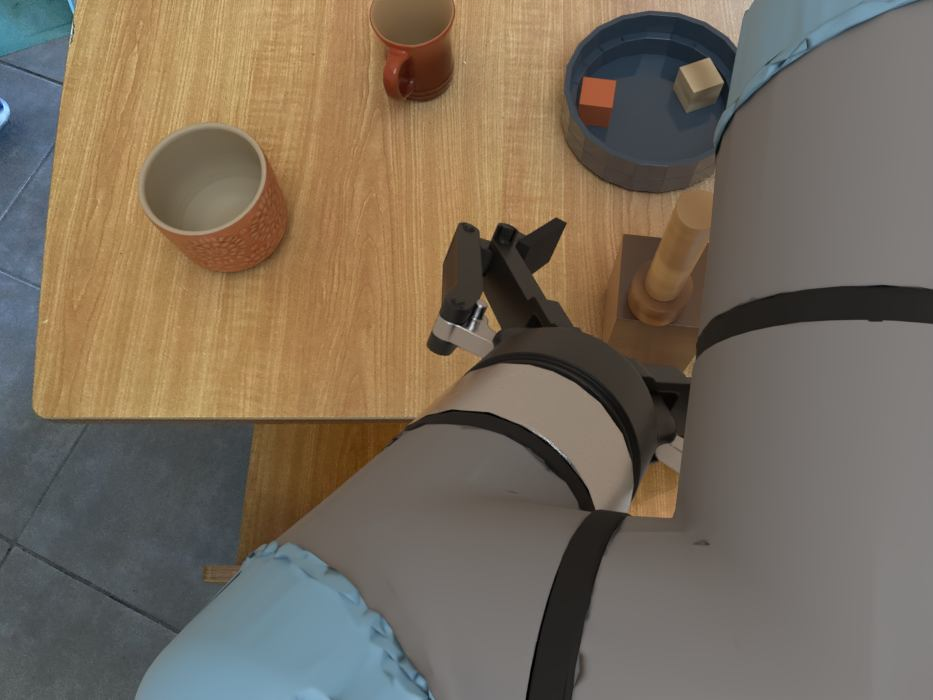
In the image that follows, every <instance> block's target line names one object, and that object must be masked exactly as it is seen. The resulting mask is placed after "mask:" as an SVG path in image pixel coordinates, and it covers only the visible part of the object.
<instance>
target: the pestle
mask: <svg viewBox="0 0 933 700" xmlns="http://www.w3.org/2000/svg"><path fill="white" fill-rule="evenodd" d="M713 194H714V193H712V192H710V191H707V190H703V189H691V190H688V191H686V192H684V193H683V194H681V195H680V196H679V198H678V199H677V200H676V203H675V205H674V208H673V210H672V212H671V215H670V217H669V220H668V222H667V225H666V227H665V229H664V232H663V233H662V237H661V238H662V239H661V241H660V244H659V246H658V249H657V251H656V253H655V256H654V258H653V259H652V260H649V261H647V262H645V263H643V264H642V265H641V266H640V267H639V268H638V269H637V271H636V272H635V274H634V277H633V280H632V282H631V285H630V288H629V290H628V295H627V301H628V305H629V308H630V310H631V312H632V313H633V314H634V316H636V317H637V318H638V319H639V320H640V321H642V322H644V323H646V324H649V325H654V326H662V325H667V324H670V323H672V322H674V321H675V320H676V319H678V318H679V317H680V315H681V314H682V312H683V311H684V309H685V307H686V306H687V304H688V302H689V300H690V299H691V296H692V293H693V281H692V278H691V276H690V274H691V273H692V271H693V269H694V267H695V265H696V263H697V262H698V260H699V258H700V256H701V254H702V252H703V250H704V249H705V247H706V245H707V243H708V242H709V237H710V228H711V217H712V206H713Z"/></svg>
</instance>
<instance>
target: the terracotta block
mask: <svg viewBox="0 0 933 700" xmlns="http://www.w3.org/2000/svg"><path fill="white" fill-rule="evenodd" d="M615 87H616V81H615V80H606V79H598V78H590V77H583V82H582V89H581V95H580V101H579V107H578V112H579V116H580V119H581V121H582V122H583V123H584V125H590V126H598V127H606V128H608V126H609V122H610V117H611V112H612V108H613V101H614V94H615Z"/></svg>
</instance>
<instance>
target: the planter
mask: <svg viewBox="0 0 933 700" xmlns="http://www.w3.org/2000/svg"><path fill="white" fill-rule="evenodd" d="M136 188H137V196H138V201H139V204H140V206H141V209H142V211H143V212H144V214H145V216H146V217H147V218H148V220H149V221H150V222H151V224H152V225H153V226H154V227H155V229H157V230H158V231H159V232H160V233H161V234H162V235H163V236H164V237H165V238H166V239H167V240H168V241H169V242H170V243H171V244H172V245H174V246H175V247H176V249H177V250H178V251H179V252H180V253H181V254H182V255H184V256H185V257H186V258H187V259H188V260H190V261H191V262H193V263H195V264H196V265H197V266H200V267H202V268H204V269H207V270H210V271H215V272H221V273H232V272H233V273H234V272H240V271H244V270H247V269H250V268H252V267H254V266H256V265H258V264H260V263H262V262H263V261H265V260H266V259H267V258H268V257H269V256H271V255H272V254H273V252H275V250H276V249H277V248H278V246H279V244H280V243H281V241H282V239H283V237H284V234H285V231H286V228H287V222H288V208H287V203H286V202H287V201H286V199H285V196H284V192H283V190H282V188H281V186H280V184H279V181H278V179H277V176H276V174H275V172H274V169H273V167H272V165H271V163H270V161H269V158H268V156H267V155H266V152H265V151H264V149H263V148H262V146H261V145H260V144H259V142H257V140H256V139H255V138H254V137H253V136H252V135H251V134H250V133H248V132H247V131H245V130H243V129H241V128H240V127H238V126H236V125H232V124H229V123H225V122H220V121H219V122H218V121H205V122H197V123H193V124H189V125H186V126H183V127H180V128H178V129H176V130H174V131H172V132H171V133H169V134H167V135H166V136H165V137H164V138H162V139H161V140H159V142H157V144H155V145H154V146H153V148H152V149H151V150H150V152H149V153H148V154H147V155H146V157H145V159H144V160H143V163H142V165H141V167H140V170H139V173H138V177H137V187H136Z"/></svg>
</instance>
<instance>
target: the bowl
mask: <svg viewBox="0 0 933 700" xmlns="http://www.w3.org/2000/svg"><path fill="white" fill-rule="evenodd" d="M736 51H737V45H736V44H735V43H734V41H733V40H732V39H731V38H730V37H729V36H728V35H726V34H725V33H723V32H722V31H721V30H718V29H717V28H715V26H713V25H712V24H710V23H708V22H706V21H704V20H702V19H698V18H696V17H692V16H690V15H686V14H683V13H681V12H677V11H676V12H674V11H662V10H660V11H659V10H644V11H638V12H632V13H627V14H621V15H619V16H617V17H615V18H613V19H610V20H608V21H606V22H605V23H602V24H600V25H598V26H597V27H595V28H594V29H593V30H592V31H591V32H590V33H588V34H587V35H586V37H584V38H583V39H582V40H581V41H580V42H579V43H578V44H577V46H576V47H575V49H574V51H573V53H572V54H571V57H570V58H569V61H568V62H567V64H566V69H565V75H564V83H563V84H564V85H563V92H562V101H561V102H562V103H561V110H560V111H561V112H560V121H561V125H562V130H563V133H564V137H565V140H566V143H567V144H568V146H569V147H570V149H571V150H572V152H573V153H574V155H575V156H576V158H577V159H578V161H579V162H580V163H581V164H582V165H584V167H586V168H588V170H591V171H592V172H593V173H594V174H595V175H597V176H598V177H599V178H600V179H602V180H603V181H606V182H609V183H611V184H614V185H616V186H619V187H622V188H624V189H627V190H630V191H636V192H637V191H638V192H648V193H659V194H660V193H665V192H670V191H674V190H675V191H677V190H682V189H686V188H689V187H691V186H693V185H696V184H697V183H699V182H701V181H703V180H705V179H707V178H709V177H711V176H713V175H714V174H715V171H716V166H715V148H714V142H713V139H714V134H715V130H716V127H717V124H718V122H719V120H720V118H721V115H722V113H723V112H724V111H725V110H726V106H727V101H728V95H729V90H730V84H731V79H732V73H733V68H734V62H735V57H736ZM709 57H710V59H711V61H712V62H713V64H714V66H715V67H716V69H717V71H718V73H719V74H720V76H721V78H722V80H723V81H724V84H723V86H722V89H721V91H720V94H719V96H718V99H717V101H716V103H715V104H712V105H709V106H706V107H703V108H700V109H697V110H694V111H691V112H688V113H686V112H685V110H684V108H683V106H682V104H681V103H680V101H679V99H678V97H677V95H676V94H675V92H674V90H673V86H674V83H675V80H676V77H677V74H678V71H679V68H680V67H682V66H685V65H688V64H691V63H694V62H697V61H700V60H703V59H706V58H709ZM583 77H590V78H598V79H606V80H615V81H616V87H615V94H614V101H613V108H612V112H611V117H610V122H609V126H608V128H606V127H598V126H590V125H584V123H583V122H582V121H581V119H580V116H579V112H578V107H579V101H580V95H581V89H582V82H583Z"/></svg>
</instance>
